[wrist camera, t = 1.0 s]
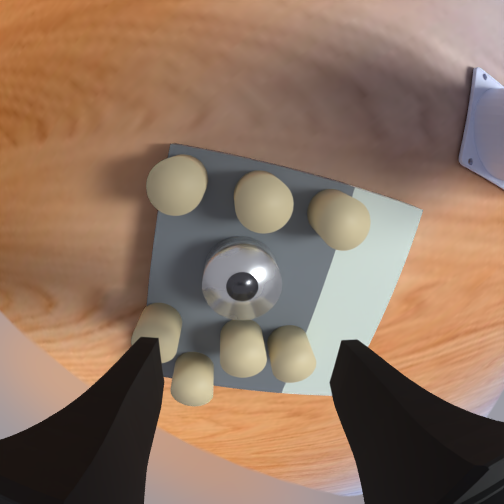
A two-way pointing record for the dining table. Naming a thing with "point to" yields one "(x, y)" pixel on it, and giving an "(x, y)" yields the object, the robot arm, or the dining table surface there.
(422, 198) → the dining table surface
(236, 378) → the board
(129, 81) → the dining table surface
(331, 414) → the dining table surface
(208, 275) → the steel nut
